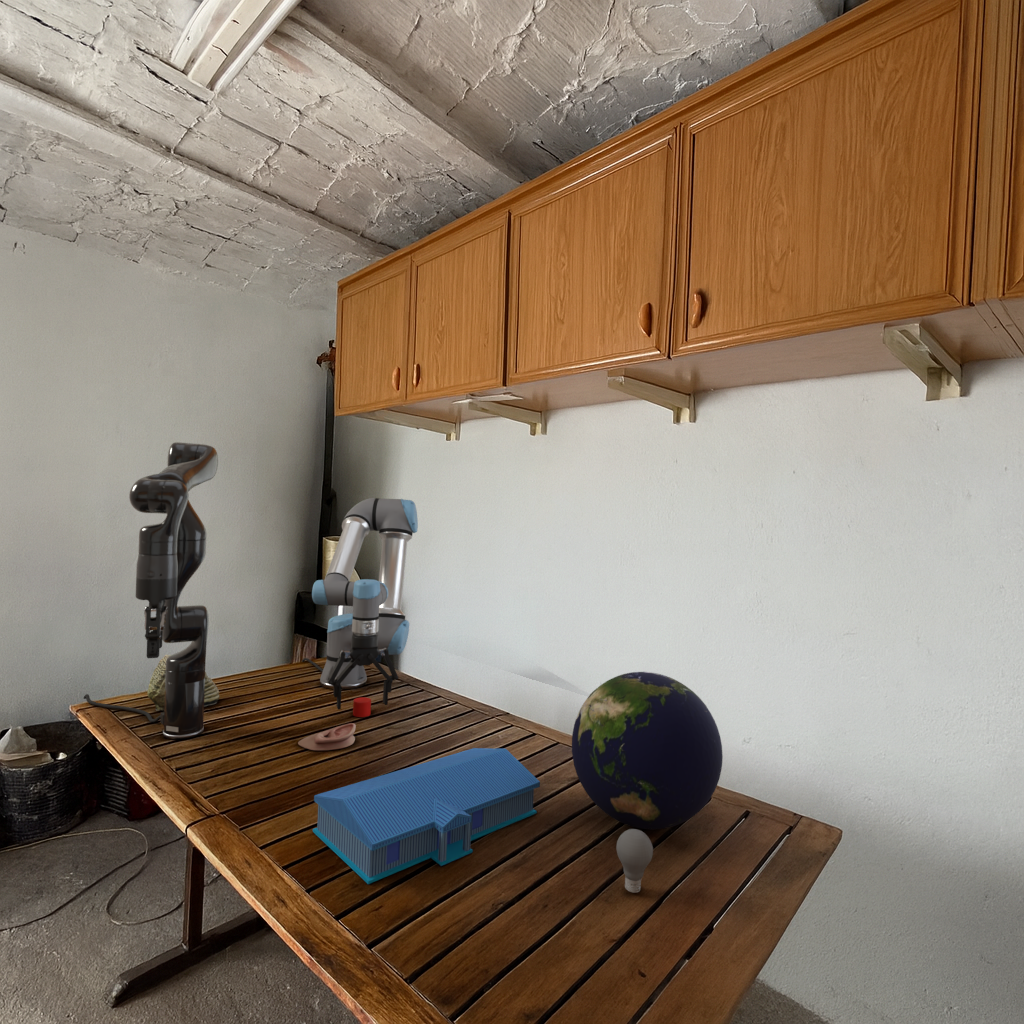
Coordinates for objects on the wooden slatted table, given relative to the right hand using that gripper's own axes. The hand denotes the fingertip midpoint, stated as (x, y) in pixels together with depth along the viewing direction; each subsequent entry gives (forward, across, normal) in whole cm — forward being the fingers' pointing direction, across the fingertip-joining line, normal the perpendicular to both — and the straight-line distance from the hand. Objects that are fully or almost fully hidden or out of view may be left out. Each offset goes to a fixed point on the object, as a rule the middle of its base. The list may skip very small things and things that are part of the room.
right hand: (362, 705), depth 185 cm
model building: (+2, +1, -67) cm, 67 cm away
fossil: (+3, -48, +22) cm, 52 cm away
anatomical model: (+2, -12, -19) cm, 23 cm away
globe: (+2, +41, -80) cm, 90 cm away
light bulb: (+2, +26, -98) cm, 102 cm away
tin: (+3, 0, 0) cm, 3 cm away
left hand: (-27, -51, -34) cm, 67 cm away
